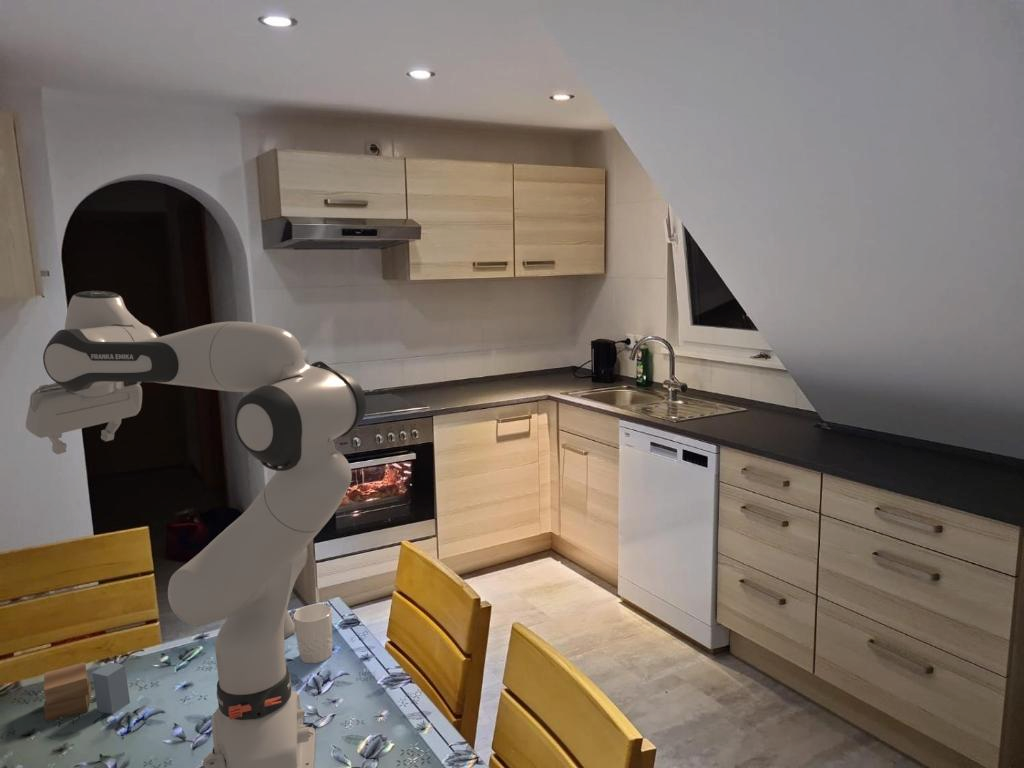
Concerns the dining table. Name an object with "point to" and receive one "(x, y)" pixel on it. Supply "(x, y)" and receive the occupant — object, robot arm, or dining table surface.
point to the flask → (288, 626)
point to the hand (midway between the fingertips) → (83, 445)
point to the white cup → (314, 632)
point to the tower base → (68, 707)
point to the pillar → (111, 688)
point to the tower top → (65, 684)
